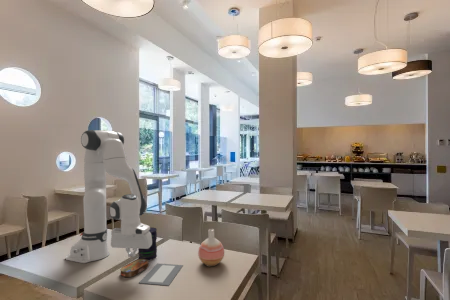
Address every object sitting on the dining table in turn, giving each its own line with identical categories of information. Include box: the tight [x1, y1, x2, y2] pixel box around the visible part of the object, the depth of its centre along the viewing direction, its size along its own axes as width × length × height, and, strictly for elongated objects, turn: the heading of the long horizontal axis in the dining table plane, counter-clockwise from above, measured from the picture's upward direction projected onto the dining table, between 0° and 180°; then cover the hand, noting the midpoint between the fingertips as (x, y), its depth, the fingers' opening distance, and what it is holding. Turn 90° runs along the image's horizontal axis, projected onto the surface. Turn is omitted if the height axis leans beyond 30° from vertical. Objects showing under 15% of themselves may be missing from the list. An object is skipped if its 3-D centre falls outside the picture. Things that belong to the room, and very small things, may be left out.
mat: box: [138, 262, 184, 287], centre depth 117 cm, size 14×19×1 cm
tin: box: [120, 258, 150, 278], centre depth 120 cm, size 15×3×8 cm
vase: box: [197, 228, 225, 267], centre depth 127 cm, size 14×14×18 cm
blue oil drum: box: [137, 226, 158, 261], centre depth 136 cm, size 10×10×15 cm
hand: (131, 256), depth 119 cm, fingers closed
